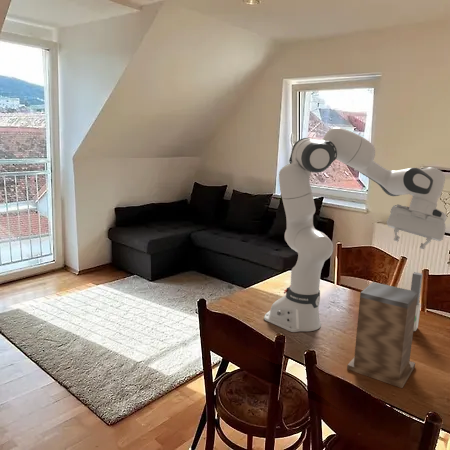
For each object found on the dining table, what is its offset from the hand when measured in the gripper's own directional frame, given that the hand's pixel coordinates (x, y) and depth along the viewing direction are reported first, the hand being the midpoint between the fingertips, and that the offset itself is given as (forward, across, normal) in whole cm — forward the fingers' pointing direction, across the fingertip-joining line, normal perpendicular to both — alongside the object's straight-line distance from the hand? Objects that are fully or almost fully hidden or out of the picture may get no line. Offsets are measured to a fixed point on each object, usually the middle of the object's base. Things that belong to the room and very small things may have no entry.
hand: (408, 244), depth 161 cm
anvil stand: (+44, +8, -17) cm, 48 cm away
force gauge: (+19, +7, +14) cm, 24 cm away
